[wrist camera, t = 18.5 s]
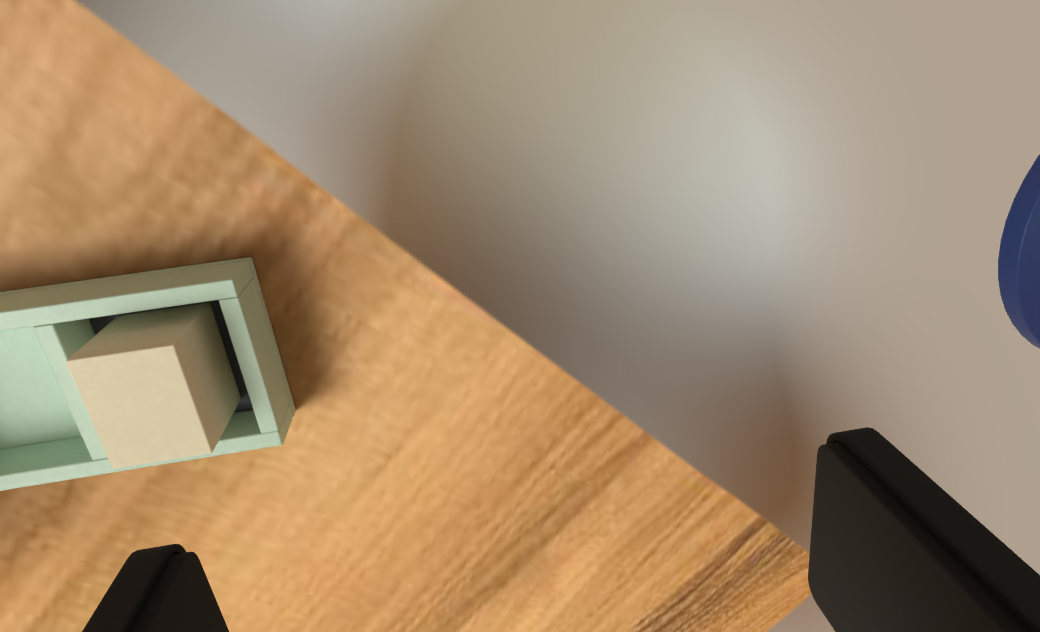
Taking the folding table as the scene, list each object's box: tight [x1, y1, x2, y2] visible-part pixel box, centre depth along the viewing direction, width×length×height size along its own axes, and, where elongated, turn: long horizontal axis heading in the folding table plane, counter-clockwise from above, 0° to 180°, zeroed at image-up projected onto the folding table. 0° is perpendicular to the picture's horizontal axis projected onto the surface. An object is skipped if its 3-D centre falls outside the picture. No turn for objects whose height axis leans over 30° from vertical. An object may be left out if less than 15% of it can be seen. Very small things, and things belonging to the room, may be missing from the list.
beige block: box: [66, 303, 241, 469], centre depth 27 cm, size 4×5×4 cm
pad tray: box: [0, 257, 296, 491], centre depth 28 cm, size 8×15×3 cm, turn 96°
